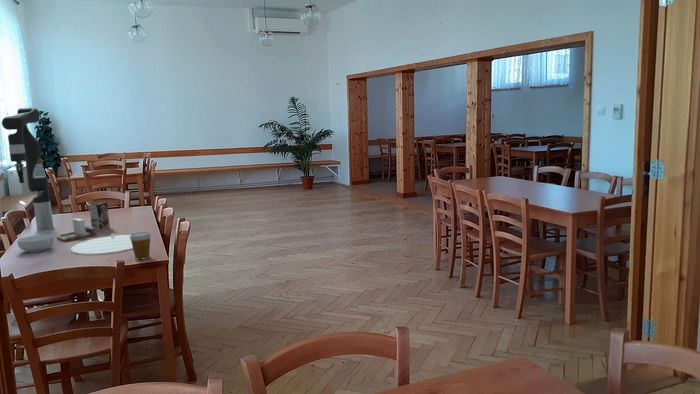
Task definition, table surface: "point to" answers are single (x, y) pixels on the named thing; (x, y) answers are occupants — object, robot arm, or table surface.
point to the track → (72, 236)
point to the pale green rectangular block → (79, 226)
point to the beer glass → (141, 244)
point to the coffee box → (99, 216)
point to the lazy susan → (103, 245)
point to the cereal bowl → (36, 243)
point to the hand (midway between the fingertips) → (21, 182)
